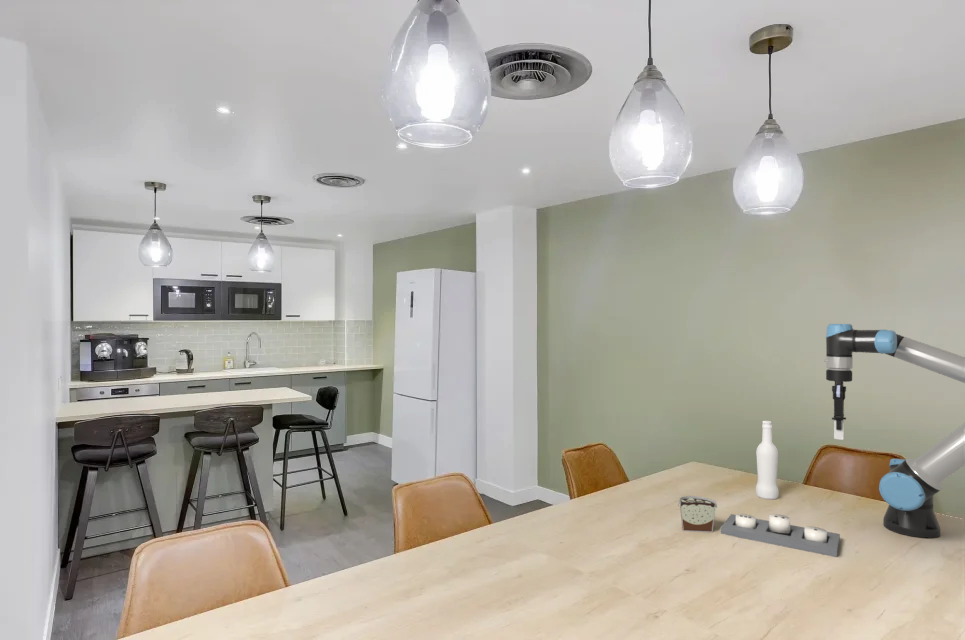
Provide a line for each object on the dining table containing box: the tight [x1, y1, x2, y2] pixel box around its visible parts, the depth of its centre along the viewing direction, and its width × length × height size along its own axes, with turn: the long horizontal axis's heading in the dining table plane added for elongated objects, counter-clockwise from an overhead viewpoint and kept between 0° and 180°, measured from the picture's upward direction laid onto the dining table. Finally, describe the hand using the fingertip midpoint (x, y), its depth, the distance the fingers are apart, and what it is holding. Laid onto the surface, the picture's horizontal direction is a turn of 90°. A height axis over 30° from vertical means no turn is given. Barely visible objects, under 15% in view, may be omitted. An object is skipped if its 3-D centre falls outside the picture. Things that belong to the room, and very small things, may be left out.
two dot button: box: [768, 513, 791, 534], centre depth 182 cm, size 6×6×4 cm
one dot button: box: [804, 526, 828, 543], centre depth 176 cm, size 6×6×4 cm
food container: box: [677, 495, 718, 533], centre depth 189 cm, size 12×6×10 cm, turn 84°
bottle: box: [755, 420, 780, 501], centre depth 225 cm, size 8×8×30 cm
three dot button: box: [735, 513, 757, 529], centre depth 188 cm, size 6×6×4 cm
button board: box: [720, 513, 841, 558], centre depth 182 cm, size 32×16×2 cm, turn 55°
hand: (838, 438), depth 193 cm, fingers closed
